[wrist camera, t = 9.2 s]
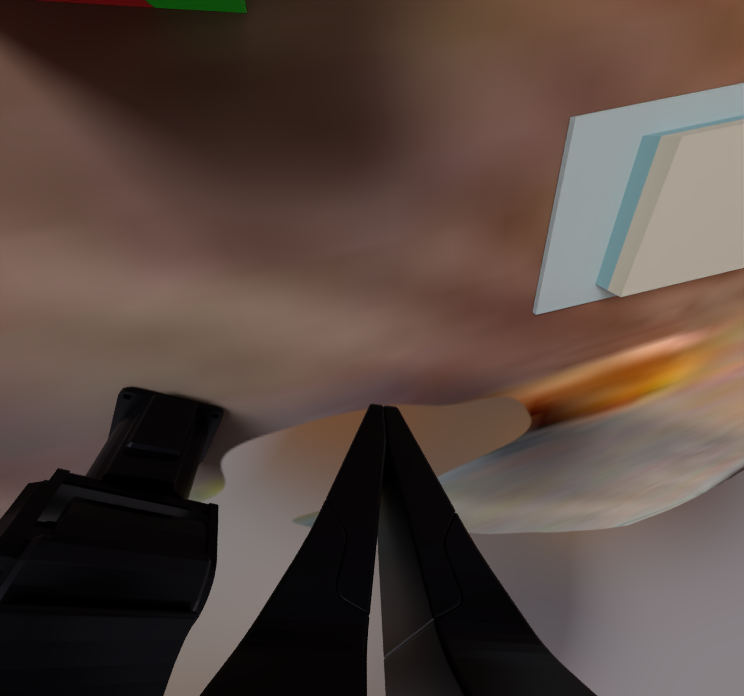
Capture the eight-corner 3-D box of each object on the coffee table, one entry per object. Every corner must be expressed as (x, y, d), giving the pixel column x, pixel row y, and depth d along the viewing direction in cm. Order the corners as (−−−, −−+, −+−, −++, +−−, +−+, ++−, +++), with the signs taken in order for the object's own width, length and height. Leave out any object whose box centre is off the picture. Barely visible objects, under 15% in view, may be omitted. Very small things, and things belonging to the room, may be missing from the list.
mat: (532, 312, 23) (535, 314, 23) (570, 117, 16) (575, 117, 16) (733, 264, 24) (739, 266, 24) (854, 60, 17) (865, 59, 17)
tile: (620, 297, 21) (779, 259, 21) (682, 136, 15) (893, 92, 16) (595, 283, 22) (743, 249, 23) (642, 135, 17) (834, 96, 18)
